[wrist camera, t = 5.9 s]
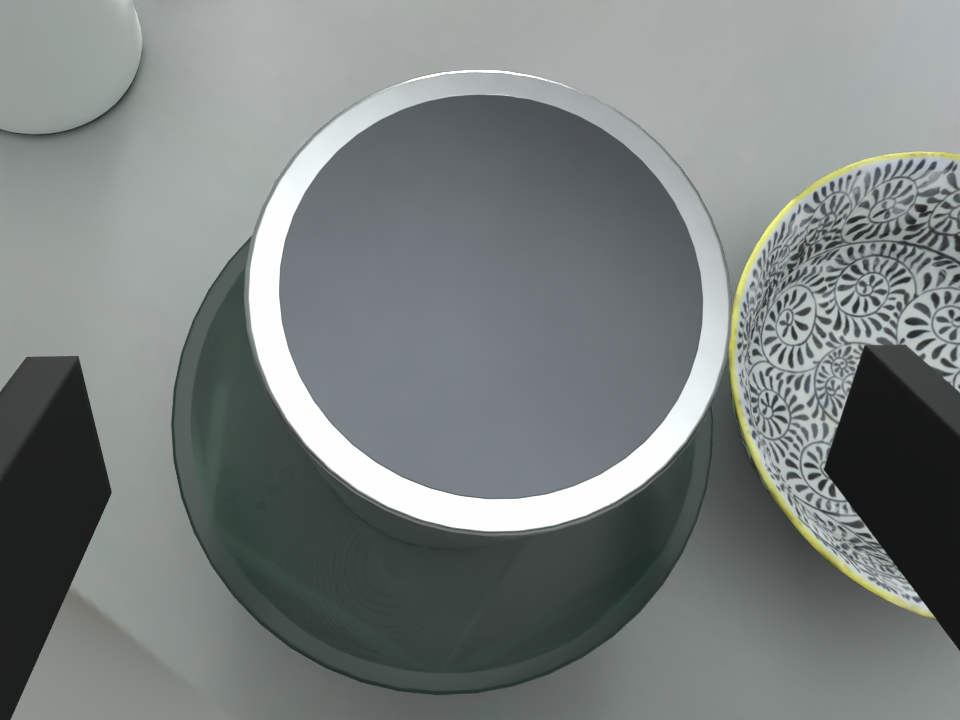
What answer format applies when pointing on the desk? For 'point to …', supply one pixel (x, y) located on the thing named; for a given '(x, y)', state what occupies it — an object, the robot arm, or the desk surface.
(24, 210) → the desk surface
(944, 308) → the bowl
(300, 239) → the silver cup
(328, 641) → the bucket
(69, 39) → the cup
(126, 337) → the desk surface
